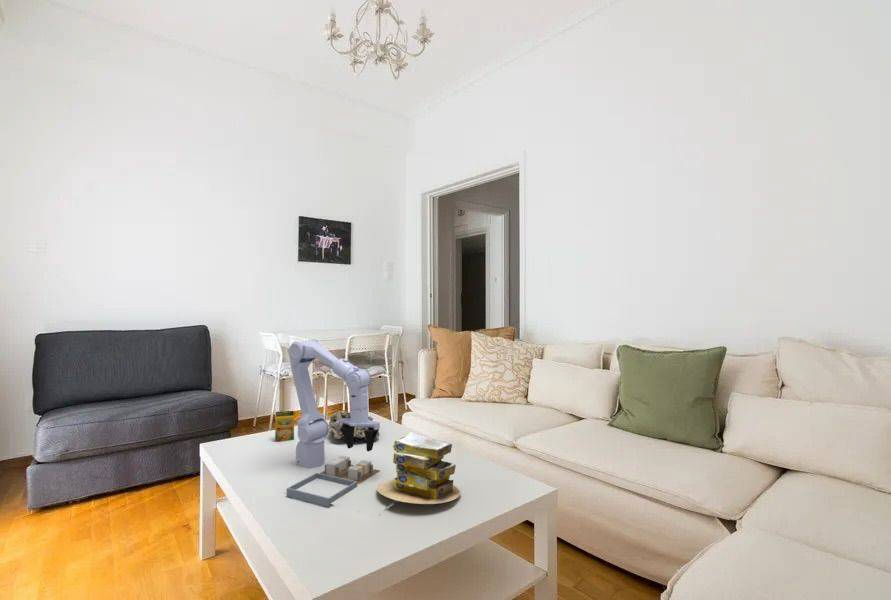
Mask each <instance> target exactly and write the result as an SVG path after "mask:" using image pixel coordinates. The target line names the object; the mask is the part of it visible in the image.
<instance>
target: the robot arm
mask: <svg viewBox="0 0 891 600" xmlns="http://www.w3.org/2000/svg"><path fill="white" fill-rule="evenodd" d="M287 353H288V356H289V360H290V361H289V362H290V370H291V373H292V377H293V382H294V386H295V391H296V394H297V395H296V396H297V399H298V404H299V407H300V408H299V409H300V412H301V417H300V418H299V420H298V421H297V423H296V425H297V437H298V440H299V441H298V442H297V444H296V447H295V465H298V466H302V467H304V468H306V469H307V468H308V469H315V468H318V467H322V466H323V465H324V466H325V440H326V439H327V437H326V436H328V435H329V432H330V430H329V422H327V420H326V418H325V414H324V413H322V412H320V411H319V409H318V407H317V406H318V405H317V401H316V398H315V393H314V390H313V389H314V388H313V384H312V380H311V376H310V371H309V367H310V365H311V364H312V363H313V362H314V361H315V360H318V361H320V362H322V363H324V364H325V365H327V366H329V367H330V368H331V369H332V373H333V374H334V375H336V376H337V377H338V378H340V379H341V380H343V381H344V382H345V385H346V387H347V388H348V394H349V406H350V407H349V409H350V410H349V412H350V418H342V419H340V425H343V426H342V427H341V428H340V431H341V432H342V433H343V435H344V436H343V437H344V440H345V444H346V447H347V449H351V448H353V447H354V439H355V437H354V429H355V427H363V428H368V429H367V430H365V431H364V434H365V437H366V440H365V442H366V444H365V445H366V448H365V449H366V452H371V451H372V450H373V447H374V442H375V439H376V438H377V436H376V435H377V433H378V432H379V431H380V429H381V427H380V426H381V425H380V424H381V423H380V422H377V421H374V420H368V417H369V396H368V395H369V391H368V386H370V384H371V382H372V376H371V374H370V372H369V371H368V370H367V369H364V368H363V369H360V368H359V367H358V366H357V365H356V366H355V365H354V364H353V363H351V362H349V359H347V358H338V357H337V356H335V355H334V354H333V353H332V352H330V351H329V349H327V348H325V346H323V343H322V342H320V341H319V340H317V339H310V340H301V341H294V342H292V343H291V344H290V345H289V348H288V350H287ZM365 437H364V438H365Z"/></svg>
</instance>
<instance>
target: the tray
mask: <svg viewBox="0 0 891 600" xmlns="http://www.w3.org/2000/svg"><path fill="white" fill-rule="evenodd" d="M317 479H318V480H319V479H320V480H323V481H327V482H332V483H337V484H340V485H345V487H344V488H342V489H341V490H339V491H338V492H336V493H335V494H333V495H332V496H330V497H326V496H323V495H320V494H319V495H318V494H315V493H310V492H307V491H302V490H298V489H300V488H301V487H303V486H305V485H307V484H309V483H311V482H313V481H315V480H317ZM357 487H358V484H357V481H352V480H348V479H343V478H339V477H334V476H330V475H325V474H321V472H315V473H314V474H311V475H310V476H307V477H306V478H304V479H302V480H300V481H298V482H296V483H294V484H292V485H290V486H288V487H287V488H286V497H287V498H290V499H293V500H294V499H295V500H298V501H302V502H305V503H309V504H313V505H317V506H321V507H325V508H328V509H329V508H331V507H333V506H334V504H332V503H333V502H335V501H337V500H338V499H340V498H341V497H344V496H345V495H346V494H347V493H350V492H351V491H352V490H354V489H355V488H357Z"/></svg>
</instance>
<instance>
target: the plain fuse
mask: <svg viewBox="0 0 891 600" xmlns="http://www.w3.org/2000/svg"><path fill="white" fill-rule="evenodd" d="M349 460H351V458H350V456H345V455H340V456H338V458H336V459H334V460H332V461H328V462H326V463H325V465H326V474H329V475H336V467H339V472H340V471H342V470H344V469H345V468H346V469H347V468H348V461H349Z"/></svg>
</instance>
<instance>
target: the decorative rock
mask: <svg viewBox="0 0 891 600" xmlns="http://www.w3.org/2000/svg"><path fill="white" fill-rule="evenodd" d="M342 418H350V411H349V412H348V411H344V412H340V411H337V412H335V413H333V414H331V416H330V418H329V422H328V425H329V432H330V436H331V437H333V438H335V439H336V440H339V439H341V438H342V437H344V435H343V433H342V432H341V431H340V428H341V427H342V426H343V425H340V419H342ZM368 420H372V421H374V417H372V416H369V415H368ZM367 429H368V428H363V427H355V429H354V439H355V440H359V439H363V438H364V439H365V441H366V437H365V434H364V431H365V430H367ZM379 436H380V432H379V431H378V433H377V435H376V437H379Z"/></svg>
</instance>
